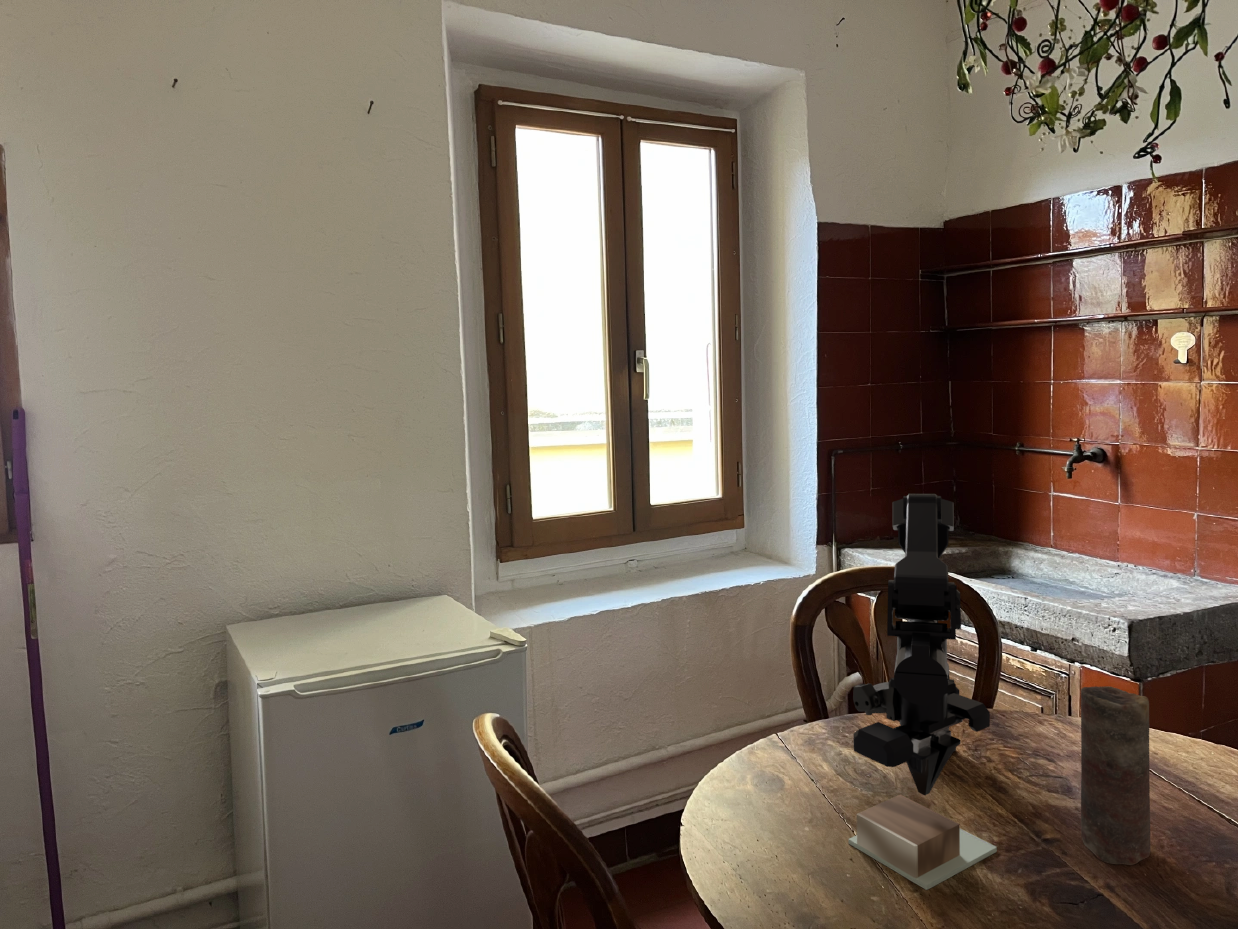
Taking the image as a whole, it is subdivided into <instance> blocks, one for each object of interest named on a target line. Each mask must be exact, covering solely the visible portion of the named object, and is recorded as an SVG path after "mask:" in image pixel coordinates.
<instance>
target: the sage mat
mask: <svg viewBox="0 0 1238 929" xmlns="http://www.w3.org/2000/svg"><path fill="white" fill-rule="evenodd" d="M847 839H848V841H847V842H848V844H849V845H850V846H852V847H853V848H855V849H857V850H859V851H860V852H862V853H864V854H866V855H867V856H869V857H870V858H873V860H875V861H877V862H879V863H880V864H882V865H884V866H885V867H887V868H889V869H891V870H893V871H894V872H896V873H898V874H899V875H900V876H902V877H904V878H905V879H907V880H909V881H911V882H912V883H914V884H916V885H918V886H919V887H921V888H922V889H924V890H925V891H928V890H929V889H931V888H934V887H936V886H937V885H939V884H940V883H943V882H944V881H946V880H948V879H949V878H951V877H953V876H954V875H957V874H959V873H961V872H962V871H964V870H966V869H968V868H970V867H972V866H974V865H975V864H978V863H979V862H981V861H983V860H984V859H986V858H988V857H990V856H991V855H994V854H995V853H997V851H998V848H997V845H993V844H992V843H990V842H989V841H986V840H984V839H982V838H980V837H977V836H976V835H973V833H970V832H967V831H966V830H964V829H962V828H960V855H959V856H957V857H955V858H953V859H951V860H950V861H948V862H946V863H944V864H942V865H940V866H938V867H936V868H935V869H933V870H931V871H929V872H927V873H925V874H923V875H921V876H920V877H918V878H916V879H915V878H914V877H912V876H910V875H909V874H907V873H905V872H904V871H902V870H900V869H899V868H897V867H895V866H893V865H892V864H890V863H888V862H887V861H885V860H883V859H882V858H880V857H878V856H877V855H875V854H873V853H872V852H870V851H868V850H866V849H865V848H863V847H861V846H860V845H858V844H857V834H856V835H853V836H852V837H849V838H847Z"/></svg>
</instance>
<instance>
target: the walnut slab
mask: <svg viewBox="0 0 1238 929" xmlns="http://www.w3.org/2000/svg"><path fill="white" fill-rule="evenodd" d="M960 829H961V827H960V823H958V822H957V821H954V820H952V819H950V818H948V817H946V816H944V815H942V814H940V813H938V812H936V811H935V810H932V809H930V808H928V807H926V806H924V805H923V804H920V803H918V802H917V801H914V800H912V799H910V798H908V797H906V796H904V795H902V794H897V795H895V796H894V797H891V798H889V799H887V800H884V801H882V802H879V803H877V804H875V805H874V806H871V807H869V808H866V809H865V810H862V811H860V812H858V813H856V835H857V844H858V845H860V846H861V847H863V848H865V849H866V850H868V851H870V852H872V853H873V854H875V855H877V856H878V857H880V858H882V859H883V860H885V861H887V862H888V863H890V864H892V865H893V866H895V867H897V868H899V869H900V870H902V871H904V872H905V873H907V874H909V875H910V876H912V877H914V878H915V879H916V878H918V877H920V876H921V875H923V874H925V873H927V872H929V871H931V870H933V869H935V868H936V867H938V866H940V865H942V864H944V863H946V862H948V861H950V860H951V859H953V858H955V857H957V856H959V855H960Z"/></svg>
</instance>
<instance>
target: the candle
mask: <svg viewBox="0 0 1238 929" xmlns="http://www.w3.org/2000/svg"><path fill="white" fill-rule="evenodd" d="M1080 736H1081V737H1080V742H1081V745H1080V753H1081V754H1080V757H1081V758H1080V760H1081V761H1080V767H1081V768H1080V769H1081V770H1080V771H1081V774H1080V835H1081V839H1082V843H1083V845H1084V846H1085V847H1086V848H1087V849H1088V850H1089V851H1091V852H1092V853H1093V854H1094V855H1095V856H1096V857H1097V859H1098V860H1100V861H1102V862H1104V863H1107V864H1113V865H1128V866H1129V865H1130V866H1134V865H1135V864H1137V863H1139V862H1140V861H1143V860H1145V859H1146V858H1148V857H1150V855H1151V854H1150V853H1151V800H1150V796H1151V795H1150V791H1151V790H1150V789H1151V787H1150V786H1151V785H1150V767H1151V766H1150V701H1149V698H1148V697H1147V696H1145V695H1139V694H1137V693H1132V692H1128V691H1125V690H1122V689H1120V688H1118V687H1114V686H1107V685H1106V686H1097V685H1096V686H1084V687H1082V688H1081V689H1080Z"/></svg>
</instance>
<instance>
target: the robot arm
mask: <svg viewBox="0 0 1238 929" xmlns="http://www.w3.org/2000/svg"><path fill="white" fill-rule="evenodd" d="M954 504H955V503H954V502H953V501H950V500H948V499H944V498H942V496H941V495H937V494H936V493H908V495H903V498H901V499H898V500H895V501H892V529H893V530H894V531H897V535H898V536H897V538H898V539H897V540H898V545H899V546H900V549H902V551H903V553H904V557H903V558H902V559H900V560H899V561H897V562H896V563H895V564H894V571H893V572H894V575H893V579H889V580H887V581H888V582H887V618H886V619H887V623H886V624H887V626H886V628H887V629H886V633H887V634H886V636H887V637H896V639H897V640H896V643H897V644H896V647H897V650H896V651H897V652H896V656H895V666H894V673H893V674H894V675H893V677H892V678H891V677H890V679H889V681H886V682H885V681H884V682H879V683H877V684H872V683H867V684H865V683H860V684H858V685H855V686H853V691H852V692H853V694H852V695H853V696H852V700H853V704H854V707H855V709H856V710H857V711H858V712H864V713H865V715H866V716H872V715H873V714H885V715H886V716H885V717H886V719H888V720H891V721H892V722H896V721H898V722H899V725H898V726H896V727H891V726H889V725H886V724H884V723H881V722H880V721H877V722H874V723H871V724H869V725H866V726H864V727H861V728H859V729H858V730H856V731H854V733H853V735H852V736H853V752H855V753H856V754H859V755H861V756H864V757H866V758H868V759H870V760H872V761H874V762H876V763H879V765H883V766H885V767H887V768H895V767H897V766H900V765H902V764H905V763H906V765H907V768H908V769H909V772H910V775H911V777H912V780H913V782H914V785H915V787H916V790H917V792H918V793H919V794H921V795H923V796H927V795H928V794H930V793H931V791H932V789H933V788H934V786H935V784H936V783H937V780H938V779H939V777H940V775H941V773H942V771H943V770H944V768H945V766H946V765H947V762H948V761H949V759H950V757H951V756H952V755H953V753H954V752H955V751H957V747H959V746H960V745H961V739H959V738H957V737H955V736H953V735H952V730H950V727H953V726H955V725H957V724H960V723H962V722H963V720H965V719H967V720H968V727H969V728H970V729H971V730H972V731H974V732H976V733H977V732H980V731H982V730H985V729H986V728H990V726H991V722H990V720H991V718H990V716H991V714H990V711H989V709H988V708H987V706H986V705H985V704H984V702H980V701H979V700H975V699H972V698H970V697H966V696H964V695H961V694H960V689H959V688H958V687H957V684H956V682H955V679H952V678H951V679H950V664H949V663H948V640H953V641H955V640H957V630H959V631H960V630H962V615H961V613H962V612H961V610H962V609H961V606H962V605H961V592H960V591H959V590H958V589H957V584H956V583H955V582H952V581H951V582H950V581H949V566H948V565H947V563H945V562H944V561H943V560H941V559H940V558H941V556H942V555H943V554H944V552H945V551H946V549H947V548H948V546H949V542H950V541H949V540H950V539H949V532H954V530H955V529H954V528H955V525H954V524H955V513H954V512H955V511H954V510H955V507H954ZM949 614H950V615H949ZM894 617H895V618H896V619H901V620H895V624H894ZM949 618H950V627H948V623H946V622H945V621H948V620H949ZM903 620H904V621H903ZM939 621H941V622H939ZM942 622H944V623H942Z"/></svg>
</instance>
